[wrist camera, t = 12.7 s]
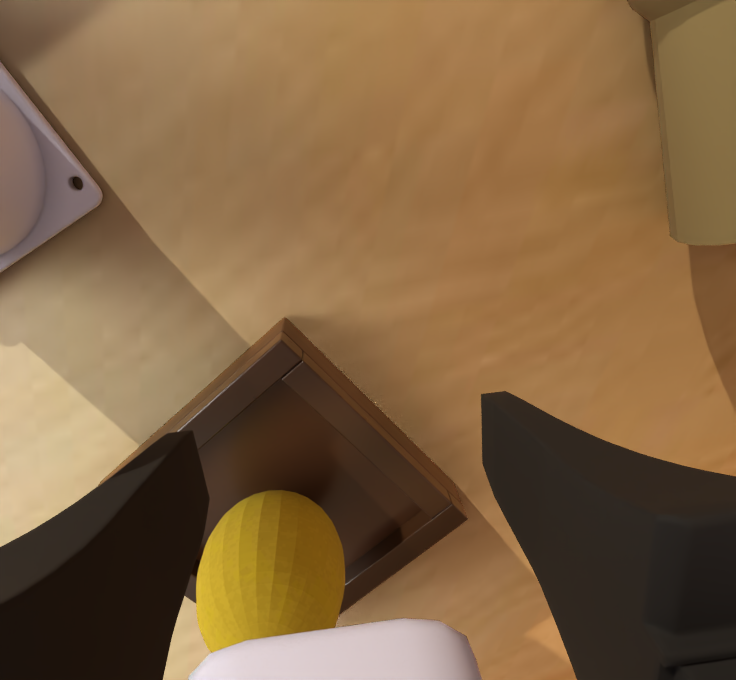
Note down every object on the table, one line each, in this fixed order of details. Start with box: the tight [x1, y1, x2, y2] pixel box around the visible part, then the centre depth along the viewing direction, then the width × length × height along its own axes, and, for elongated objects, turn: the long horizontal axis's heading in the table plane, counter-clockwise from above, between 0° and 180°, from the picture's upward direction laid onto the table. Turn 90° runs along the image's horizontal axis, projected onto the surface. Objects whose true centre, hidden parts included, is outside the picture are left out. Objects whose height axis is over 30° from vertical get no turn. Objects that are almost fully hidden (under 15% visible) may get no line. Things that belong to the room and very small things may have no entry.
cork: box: [627, 0, 736, 245], centre depth 18 cm, size 6×6×11 cm
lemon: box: [196, 490, 345, 653], centre depth 20 cm, size 6×6×8 cm
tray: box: [98, 317, 468, 615], centre depth 24 cm, size 12×12×3 cm
